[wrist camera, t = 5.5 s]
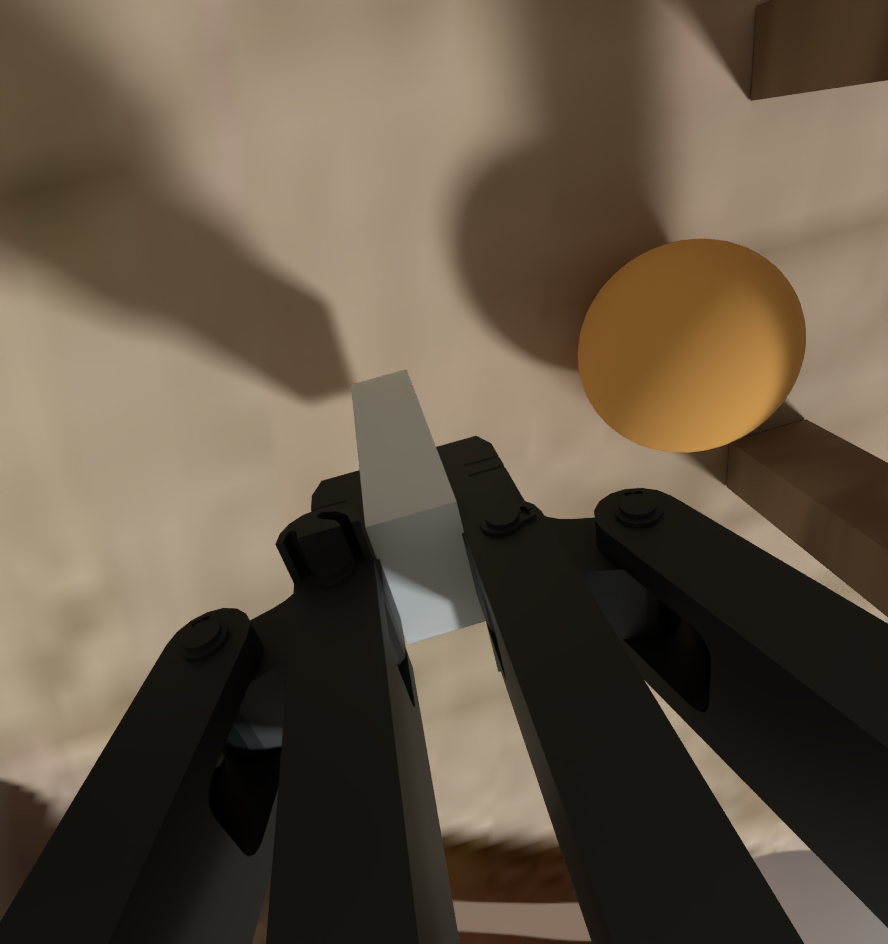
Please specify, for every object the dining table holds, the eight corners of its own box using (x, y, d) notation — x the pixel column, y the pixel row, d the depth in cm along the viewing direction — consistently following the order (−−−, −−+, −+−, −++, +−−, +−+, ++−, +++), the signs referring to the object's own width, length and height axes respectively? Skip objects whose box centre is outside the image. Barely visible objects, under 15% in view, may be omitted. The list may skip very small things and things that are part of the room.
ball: (698, 291, 10) (525, 268, 15) (693, 521, 13) (549, 444, 18) (878, 212, 12) (675, 212, 16) (839, 431, 15) (675, 381, 19)
